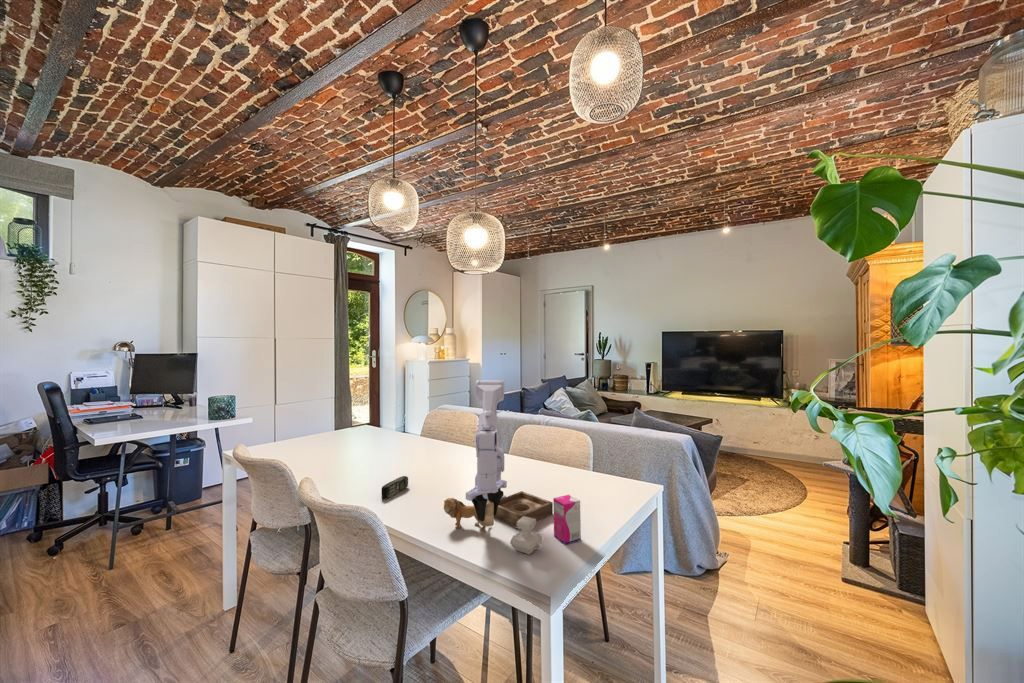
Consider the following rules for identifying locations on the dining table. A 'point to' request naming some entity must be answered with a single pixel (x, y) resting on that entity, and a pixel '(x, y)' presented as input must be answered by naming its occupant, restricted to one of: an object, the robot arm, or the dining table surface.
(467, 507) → the tan animal figurine
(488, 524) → the oak dowel
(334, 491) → the dining table surface
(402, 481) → the mobile phone
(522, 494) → the walnut box
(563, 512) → the supplement box
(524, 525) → the stamp
